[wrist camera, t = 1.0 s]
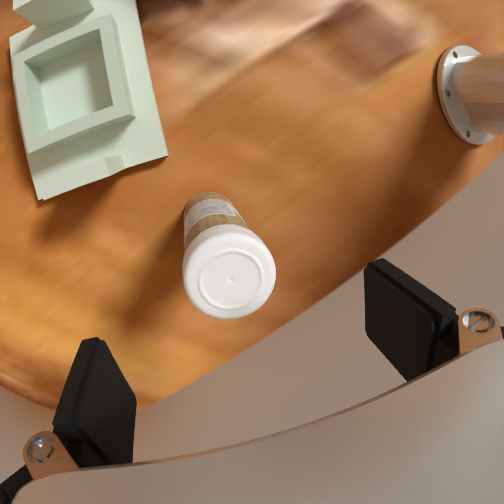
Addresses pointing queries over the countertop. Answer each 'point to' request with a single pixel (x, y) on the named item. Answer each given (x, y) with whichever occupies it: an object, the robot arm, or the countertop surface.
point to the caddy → (83, 92)
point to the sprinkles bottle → (224, 260)
